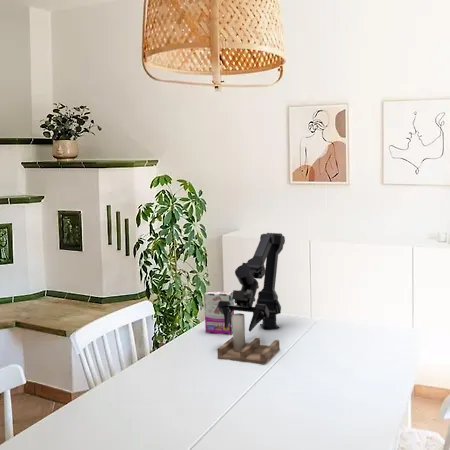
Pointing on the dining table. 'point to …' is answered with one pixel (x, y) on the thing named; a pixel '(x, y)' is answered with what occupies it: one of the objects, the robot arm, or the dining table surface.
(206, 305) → the candy bar box
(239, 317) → the rounded tapered clay block
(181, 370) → the dining table surface
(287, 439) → the dining table surface
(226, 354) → the wooden compartment tray
